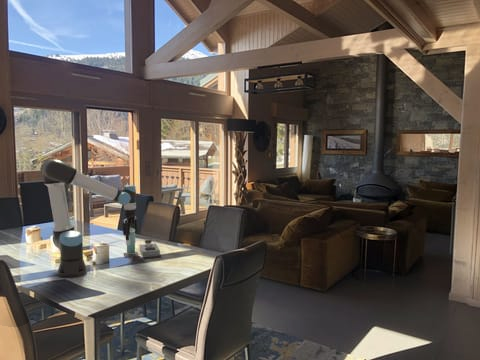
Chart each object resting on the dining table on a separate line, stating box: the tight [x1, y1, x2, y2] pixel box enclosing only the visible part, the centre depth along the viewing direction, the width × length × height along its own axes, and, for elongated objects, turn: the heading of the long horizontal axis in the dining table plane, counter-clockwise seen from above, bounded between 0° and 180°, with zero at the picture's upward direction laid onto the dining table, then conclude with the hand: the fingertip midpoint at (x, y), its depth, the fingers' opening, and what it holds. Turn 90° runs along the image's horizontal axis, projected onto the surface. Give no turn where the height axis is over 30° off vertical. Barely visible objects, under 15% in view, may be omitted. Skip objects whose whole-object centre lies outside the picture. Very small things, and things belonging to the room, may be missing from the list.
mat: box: [122, 251, 140, 259], centre depth 249 cm, size 9×9×1 cm
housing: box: [139, 243, 161, 259], centre depth 253 cm, size 17×11×4 cm, turn 22°
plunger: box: [144, 238, 153, 247], centre depth 257 cm, size 5×5×7 cm
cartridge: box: [126, 227, 136, 253], centre depth 248 cm, size 5×5×16 cm
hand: (130, 243), depth 248 cm, fingers closed on cartridge, 5 cm apart
